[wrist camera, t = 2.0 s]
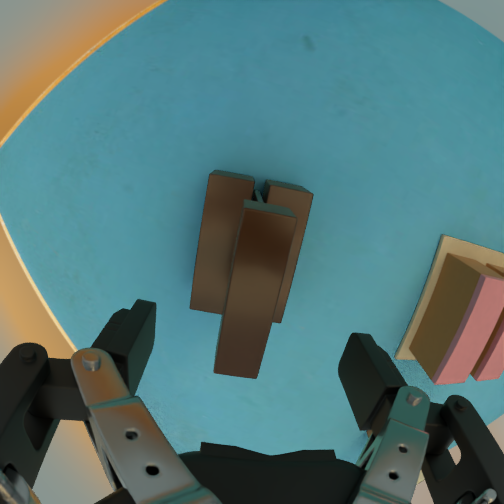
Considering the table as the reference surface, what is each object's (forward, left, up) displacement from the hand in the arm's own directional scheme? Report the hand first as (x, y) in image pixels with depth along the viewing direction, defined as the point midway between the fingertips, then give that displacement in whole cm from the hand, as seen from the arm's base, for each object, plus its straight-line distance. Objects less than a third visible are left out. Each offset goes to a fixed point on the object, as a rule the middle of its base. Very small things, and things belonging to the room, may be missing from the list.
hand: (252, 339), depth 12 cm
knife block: (0, 0, -14) cm, 14 cm away
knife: (0, 0, -14) cm, 14 cm away
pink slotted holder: (+3, +25, -14) cm, 28 cm away
